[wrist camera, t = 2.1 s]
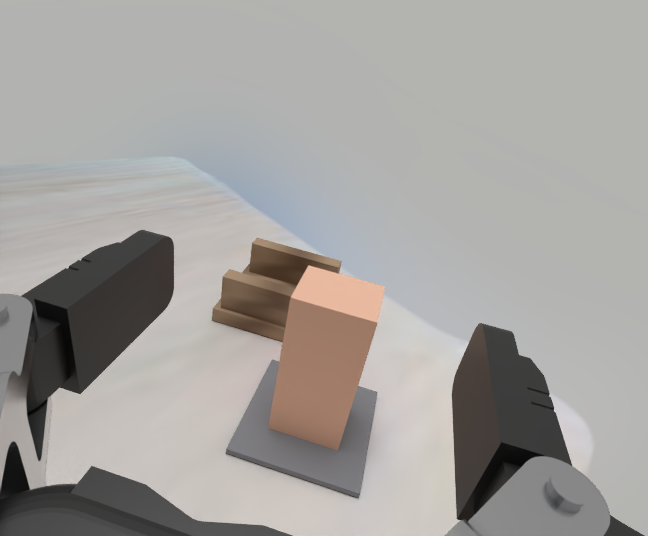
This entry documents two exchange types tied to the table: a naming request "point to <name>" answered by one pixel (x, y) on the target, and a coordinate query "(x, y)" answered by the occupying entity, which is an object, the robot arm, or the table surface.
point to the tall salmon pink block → (323, 355)
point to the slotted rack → (266, 288)
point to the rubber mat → (305, 442)
